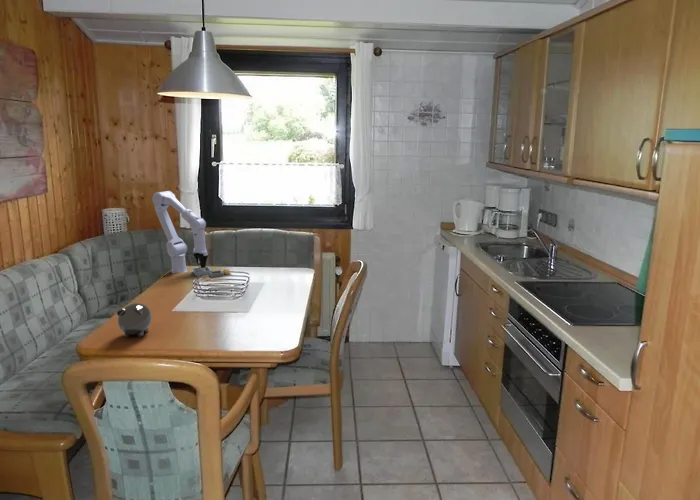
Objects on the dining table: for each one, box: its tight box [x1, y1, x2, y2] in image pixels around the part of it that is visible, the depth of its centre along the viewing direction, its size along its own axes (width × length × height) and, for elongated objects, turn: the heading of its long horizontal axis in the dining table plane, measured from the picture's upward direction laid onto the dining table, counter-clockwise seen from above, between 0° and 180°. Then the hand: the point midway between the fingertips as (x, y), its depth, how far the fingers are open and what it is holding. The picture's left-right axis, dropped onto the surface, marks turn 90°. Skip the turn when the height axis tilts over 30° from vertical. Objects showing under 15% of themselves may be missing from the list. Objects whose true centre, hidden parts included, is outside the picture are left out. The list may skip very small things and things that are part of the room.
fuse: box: [197, 259, 206, 272], centre depth 283 cm, size 3×3×7 cm
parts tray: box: [192, 266, 213, 277], centre depth 283 cm, size 10×8×2 cm
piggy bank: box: [116, 302, 153, 338], centre depth 195 cm, size 11×15×12 cm
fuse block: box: [209, 268, 233, 279], centre depth 277 cm, size 8×10×3 cm
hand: (201, 267), depth 283 cm, fingers closed on fuse, 3 cm apart
